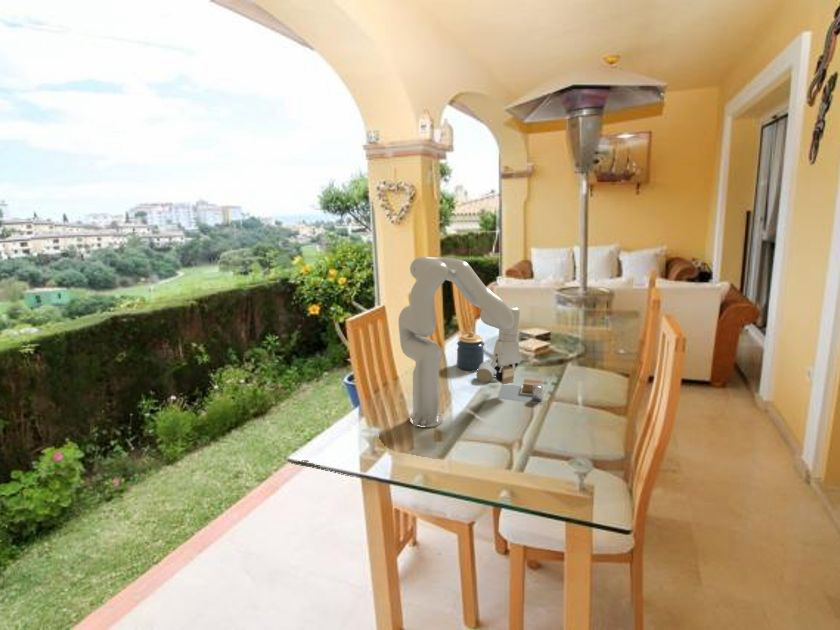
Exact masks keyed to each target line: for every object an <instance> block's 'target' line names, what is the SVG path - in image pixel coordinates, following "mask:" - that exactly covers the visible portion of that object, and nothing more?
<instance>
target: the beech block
mask: <svg viewBox="0 0 840 630" xmlns="http://www.w3.org/2000/svg"><path fill="white" fill-rule="evenodd" d="M499 368H500V366H499ZM502 373H503V374H502V382H499V381H498V380H496V379H495V380H496V381H498V382H497V383H500V384H501V385H502V384H508V383H514V379H515V377H514V376H515V370H514V368H512V367H510V366H509V365H503V369H502Z"/></svg>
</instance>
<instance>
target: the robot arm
mask: <svg viewBox="0 0 840 630" xmlns="http://www.w3.org/2000/svg"><path fill="white" fill-rule="evenodd" d="M409 270H410V274H411V276H412V277H413V279H415V280H416V281H415V283H414V284H413V286H412V288H411V290H410V293H409V294H410V295H409V305H407V306H404V308H402V310H401V312H400V313H399V316H398V331H399V341H400V348H401V350H402V353H403V354H404V355H405V356H406V357H407V358H409V359H411V360H413V362H415V365H414V368H413V371H412V413H410V414H409V416H410V418H412V420H413V425H412V426H414V427H417V425H420V426H425V427H430V428H434V427H437V426H440V425H441V424H442V423H443V420H444V419H443V415H442V414H441V413H440V412H439V410H440V409H439V406H440V405H439V404H440V402H439V400H440V399H439V397H440V396H439V395H440V394H439V391H440V389H439V387H440V386H439V385H440V382H439V381H440V379H439V378H440V377H439V376H440V367H441V366H440V365H441V361H442V354H443V353H442V349H441V346H440V345H439V344H438V343H437V342H436V341H434V340H432V339H430V337H431V336H432V335H433V334H434V333H435V331H436V326H437V321H436V309H435V296H436V293H437V291H438V289H439V288H440V287H441V286H442V285H443V283H445V281H448V282H451V283H453V285H455V287H456V288H457V290H459V292H460V293H461V294H462V296H464V298H465V299H466V301H467V302H469V303H470V304H471V305H473V306H475V307H477V308H479V309H480V310H481V311H480V314H479V315H480V317H479V318H480V320H481V322H482V323H483V324H485V325H486V326H490V327H492V328H495V329H498V338H497V339H496V340H495V344H494V346H493V353H492V354H493V355H492V361H491V362H490V363H491V364H490V365H491V366H492V367H493V368H494V369H495V373H496V377H495V380H498V381H499V382H498V383H500V382H502V374H503V373H502V369H503V365H508V366H510V367H512V368H514V371H516V368H517V367H518V366H519V364H520V363H521V362H522V359H521V358H520V356H519V355H520V344H519V339H518V337H519V336H520V333H519V327H520V325H519V324H520V312H521V310H520V308H519V307H518V306H514V305H507V304H506V302H505V301H503V300H502V298H500V297H499V296H498V295H496V294H495V293H494V292H493V291H492V290H491V289H489V288H488V287H487V286H486V285H485V283H483V281H482V279H480V277H479V276H478V275H477V273H476V272H475V271H474V269H473V268H472V266H471V265H470V264H469V263H468V262H467V261H465V260H463V259H457V258H453V257H445V256H444V257H442V256H441V257H438V256H434V257H433V256H418V257H416V258H415V259H414V260H413V261H411V264H410V267H409ZM499 366H500V368H499Z"/></svg>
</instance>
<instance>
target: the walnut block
mask: <svg viewBox="0 0 840 630" xmlns="http://www.w3.org/2000/svg"><path fill="white" fill-rule="evenodd" d="M542 380H543V379H541V378H530V377H524V380H523V383H522V384H523V393H529V394H532V392H533V385H535V384H540V385H542Z"/></svg>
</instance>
